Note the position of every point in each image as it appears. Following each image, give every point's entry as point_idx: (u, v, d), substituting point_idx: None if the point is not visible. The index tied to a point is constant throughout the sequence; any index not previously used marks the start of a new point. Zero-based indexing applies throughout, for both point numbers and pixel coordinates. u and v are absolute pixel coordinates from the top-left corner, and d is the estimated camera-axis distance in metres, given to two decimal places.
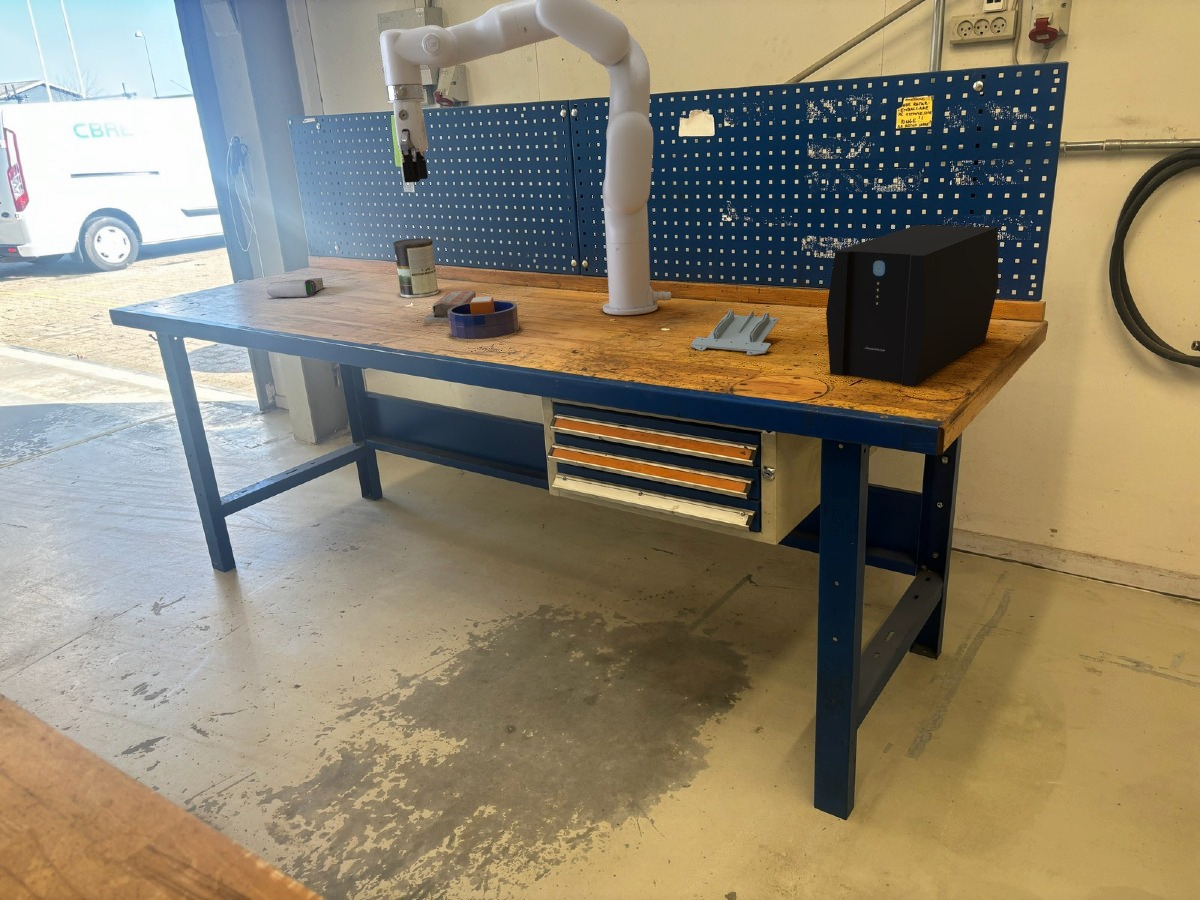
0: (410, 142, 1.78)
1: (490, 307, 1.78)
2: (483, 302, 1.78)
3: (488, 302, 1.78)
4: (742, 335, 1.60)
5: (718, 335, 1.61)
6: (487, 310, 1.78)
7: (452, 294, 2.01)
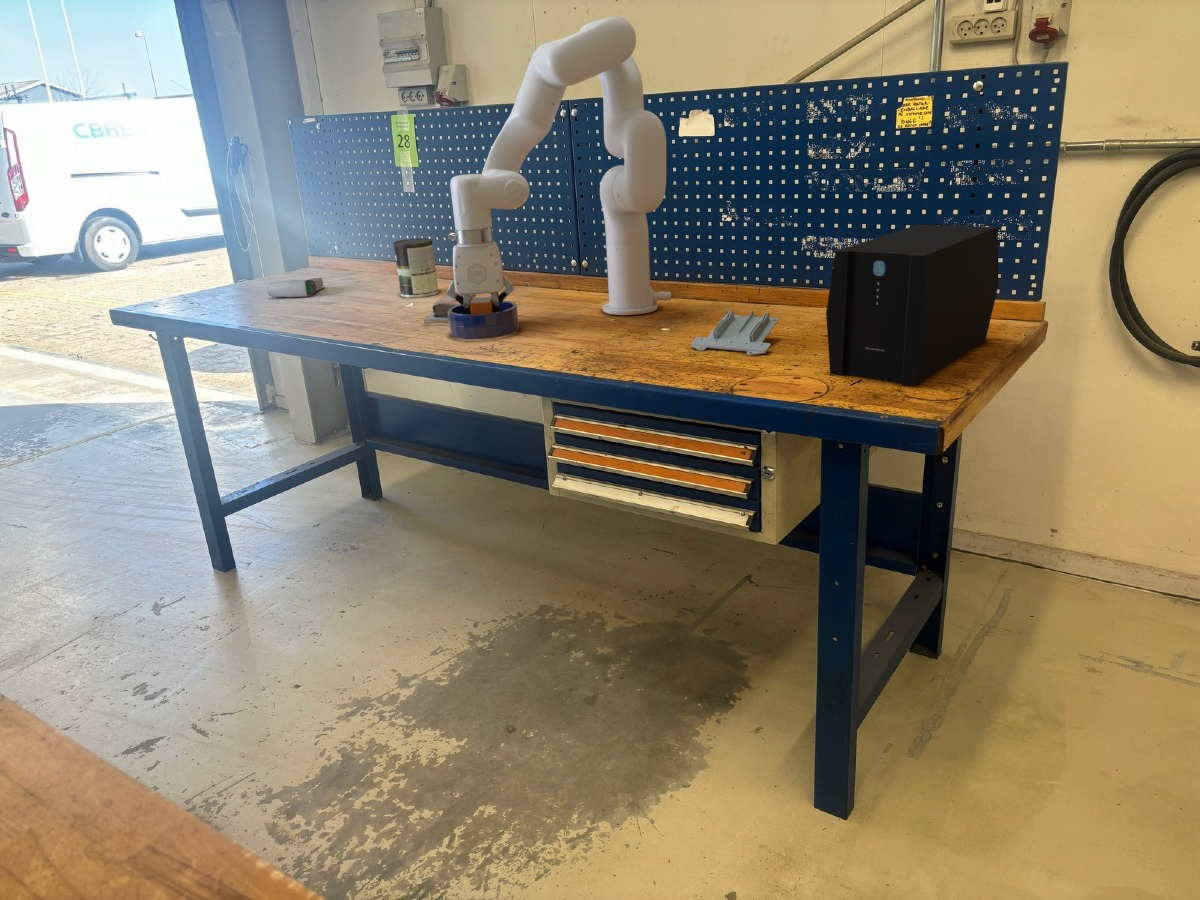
0: None
1: (490, 307, 1.78)
2: (483, 302, 1.78)
3: (488, 302, 1.78)
4: (742, 335, 1.60)
5: (718, 335, 1.61)
6: (487, 310, 1.78)
7: None
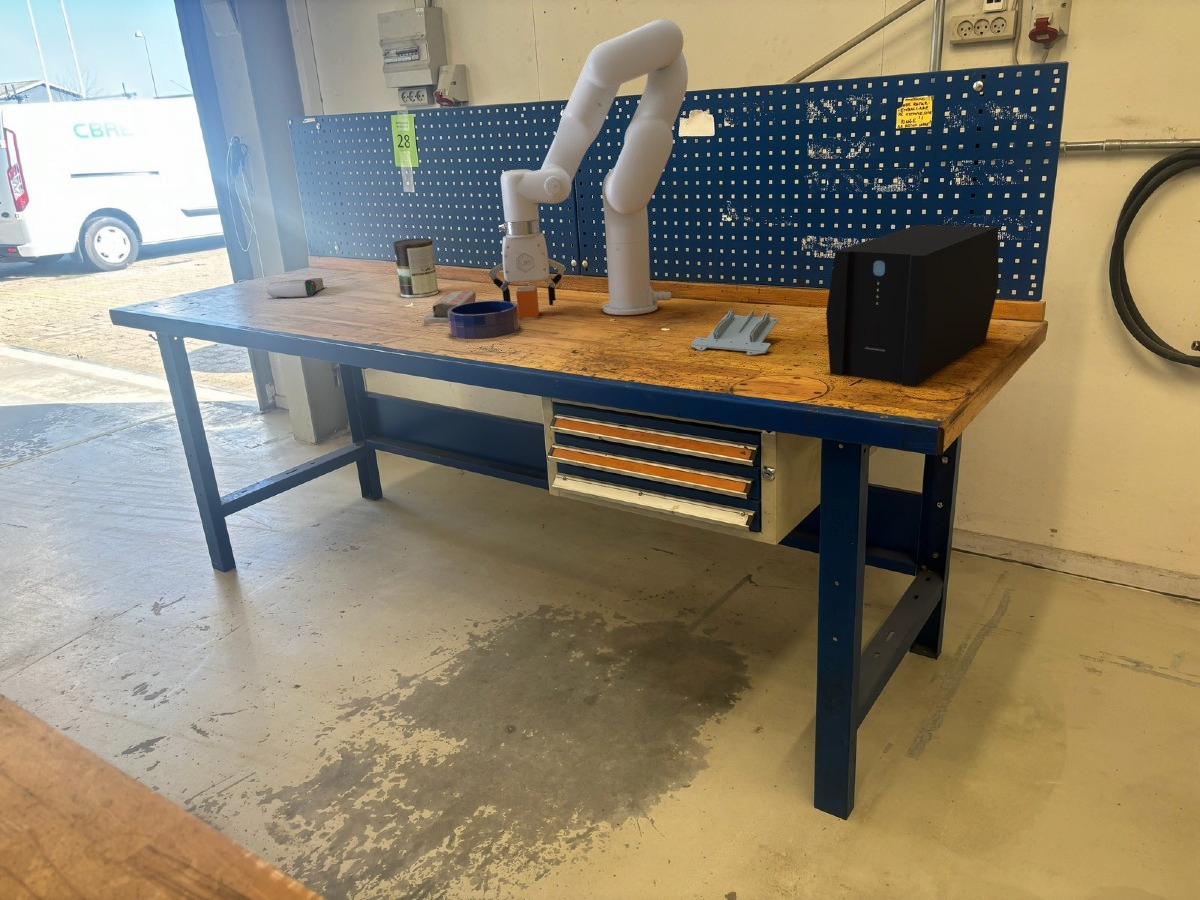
0: None
1: (535, 295, 1.90)
2: (528, 291, 1.90)
3: (533, 291, 1.90)
4: (742, 335, 1.60)
5: (718, 335, 1.61)
6: (532, 298, 1.90)
7: (452, 294, 2.01)
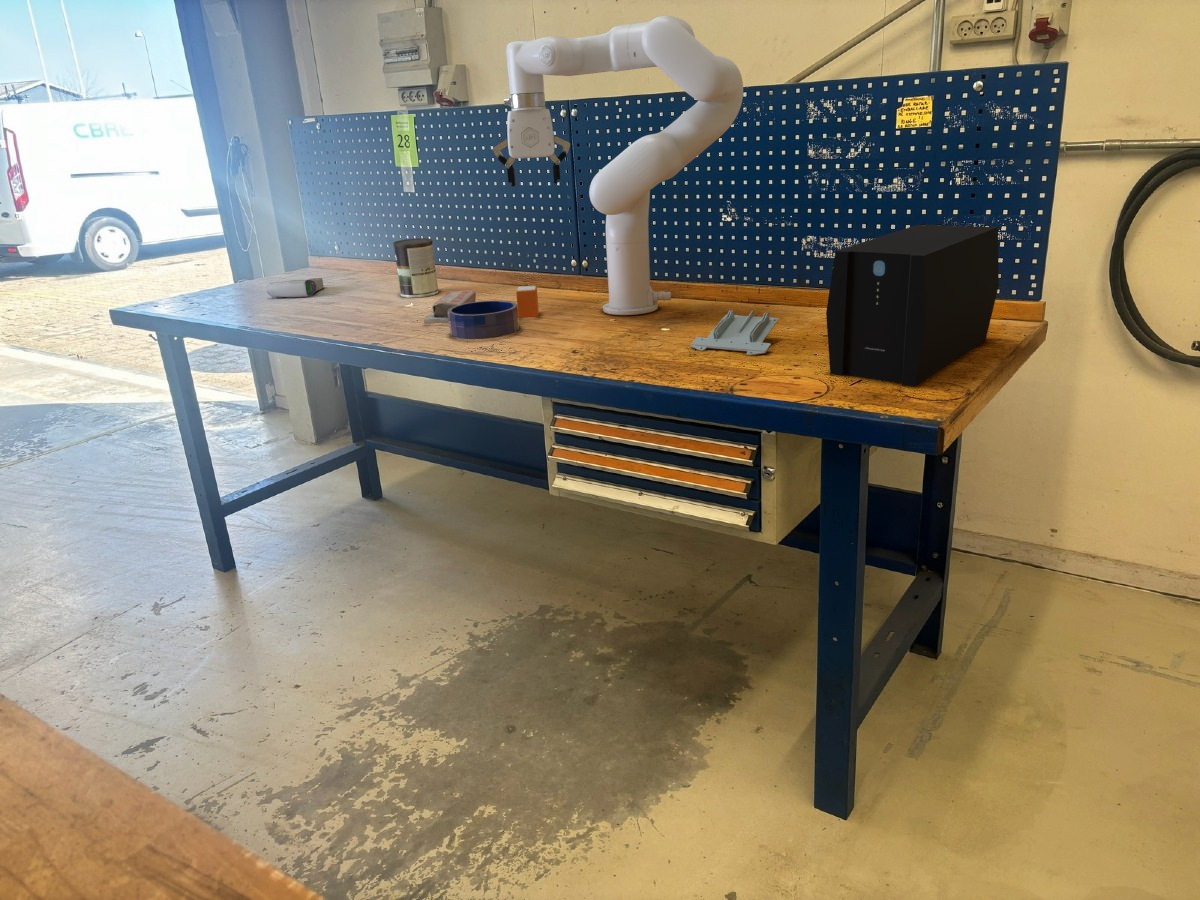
0: None
1: (535, 295, 1.90)
2: (528, 291, 1.90)
3: (533, 291, 1.90)
4: (742, 335, 1.60)
5: (718, 335, 1.61)
6: (532, 298, 1.90)
7: (452, 294, 2.01)
